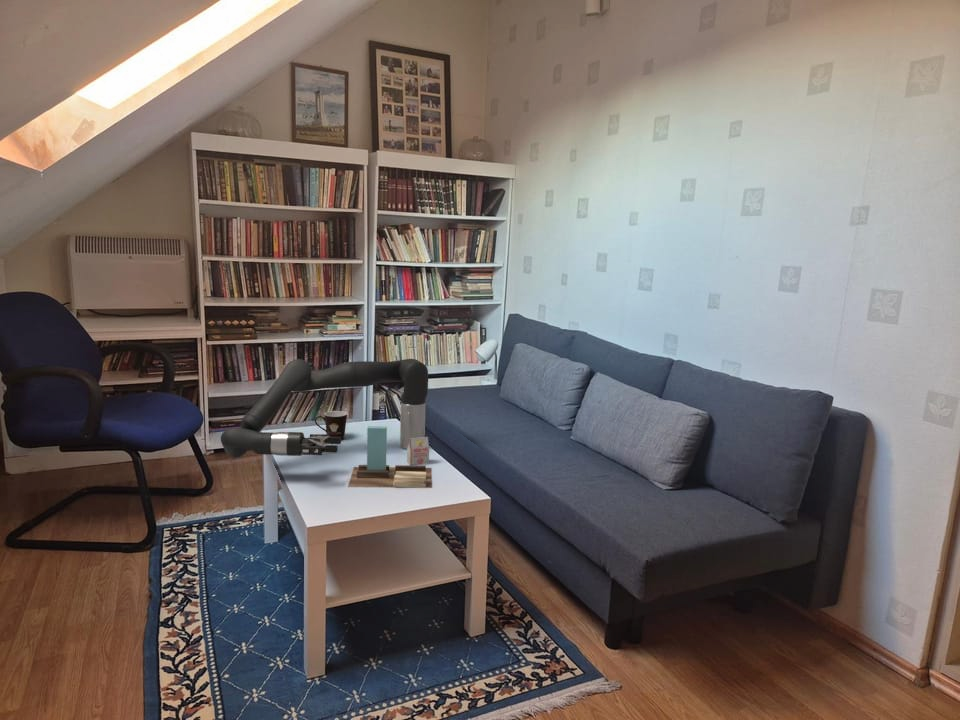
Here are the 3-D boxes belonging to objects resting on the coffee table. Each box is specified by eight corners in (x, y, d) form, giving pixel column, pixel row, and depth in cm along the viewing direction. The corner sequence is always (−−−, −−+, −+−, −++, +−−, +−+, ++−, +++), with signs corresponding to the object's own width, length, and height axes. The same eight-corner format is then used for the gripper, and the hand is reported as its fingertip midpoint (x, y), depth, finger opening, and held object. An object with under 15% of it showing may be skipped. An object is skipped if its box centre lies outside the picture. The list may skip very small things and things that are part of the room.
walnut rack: (354, 469, 213) (354, 461, 212) (431, 470, 215) (431, 462, 214) (347, 490, 195) (347, 480, 194) (431, 490, 197) (432, 481, 197)
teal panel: (367, 473, 207) (368, 426, 204) (386, 473, 208) (386, 426, 205) (366, 475, 205) (367, 428, 202) (385, 475, 205) (386, 428, 203)
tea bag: (406, 464, 220) (407, 437, 218) (425, 462, 223) (425, 435, 221) (410, 468, 216) (410, 440, 215) (428, 466, 219) (429, 438, 218)
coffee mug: (351, 437, 247) (351, 412, 246) (338, 443, 240) (338, 417, 238) (327, 432, 252) (327, 408, 250) (313, 438, 244) (313, 413, 242)
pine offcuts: (394, 480, 202) (394, 471, 202) (426, 480, 203) (426, 471, 202) (393, 487, 196) (393, 478, 195) (426, 487, 197) (426, 478, 196)
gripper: (282, 439, 194) (336, 440, 196) (292, 426, 208) (342, 427, 209) (282, 462, 195) (336, 463, 197) (292, 448, 209) (341, 448, 211)
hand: (339, 444), depth 203 cm, fingers open, 8 cm apart
